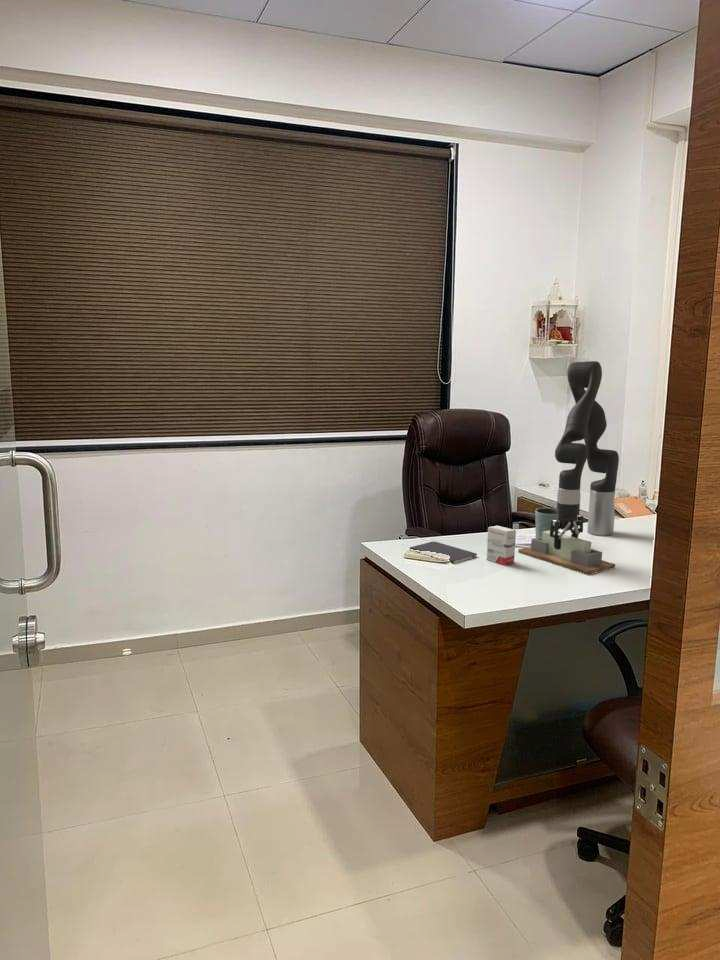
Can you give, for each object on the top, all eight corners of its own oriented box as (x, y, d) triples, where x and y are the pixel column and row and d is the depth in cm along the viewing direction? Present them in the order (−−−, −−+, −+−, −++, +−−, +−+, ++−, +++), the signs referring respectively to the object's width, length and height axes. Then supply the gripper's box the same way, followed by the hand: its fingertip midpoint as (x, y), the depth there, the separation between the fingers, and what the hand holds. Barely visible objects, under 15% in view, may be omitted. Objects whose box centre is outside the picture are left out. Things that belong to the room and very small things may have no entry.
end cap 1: (545, 546, 253) (545, 535, 253) (559, 550, 248) (560, 540, 247) (530, 549, 249) (531, 538, 249) (545, 554, 244) (546, 543, 243)
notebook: (409, 551, 253) (453, 565, 237) (409, 547, 252) (453, 560, 236) (433, 545, 261) (478, 558, 245) (433, 541, 260) (478, 553, 245)
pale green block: (547, 549, 250) (548, 530, 249) (589, 562, 235) (591, 541, 234) (541, 550, 248) (542, 531, 247) (583, 563, 233) (584, 543, 232)
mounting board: (544, 546, 258) (545, 543, 258) (614, 567, 233) (615, 564, 233) (518, 552, 250) (518, 549, 250) (587, 575, 226) (588, 571, 225)
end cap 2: (587, 567, 230) (587, 555, 229) (570, 562, 235) (571, 550, 234) (601, 563, 234) (602, 552, 233) (584, 558, 239) (585, 547, 238)
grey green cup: (549, 536, 271) (551, 506, 269) (567, 543, 262) (568, 512, 260) (528, 539, 267) (529, 508, 265) (545, 546, 258) (546, 514, 256)
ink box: (514, 563, 238) (516, 529, 236) (505, 565, 235) (507, 531, 233) (495, 557, 244) (496, 524, 242) (485, 559, 241) (487, 526, 239)
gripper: (573, 496, 245) (570, 541, 248) (545, 501, 237) (543, 547, 240) (591, 500, 239) (588, 546, 242) (563, 505, 231) (560, 553, 234)
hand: (565, 547), depth 241 cm, fingers open, 8 cm apart
